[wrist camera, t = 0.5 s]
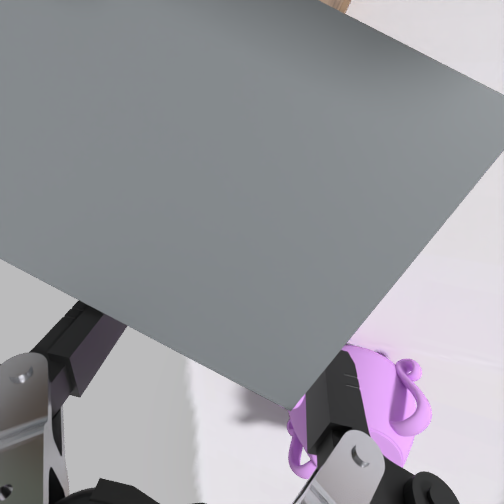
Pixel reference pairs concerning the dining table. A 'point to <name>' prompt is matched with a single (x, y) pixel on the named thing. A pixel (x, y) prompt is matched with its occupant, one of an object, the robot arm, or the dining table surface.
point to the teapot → (374, 408)
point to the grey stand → (229, 170)
